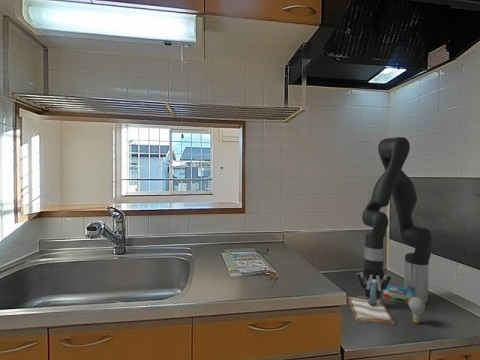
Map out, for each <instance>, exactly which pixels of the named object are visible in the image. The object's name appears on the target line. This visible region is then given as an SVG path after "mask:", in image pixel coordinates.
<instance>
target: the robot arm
mask: <svg viewBox="0 0 480 360" xmlns="http://www.w3.org/2000/svg"><path fill="white" fill-rule="evenodd" d="M377 148H378V149H377V151H378V155H379V158H380V161H381V163H382V165H383V168H384V172H383V173H382V174H381V175H380V177H379V178H378V179H377V181H376V183H375V185H374V187H373V191H372V194H371V198H370V200H369V202H368V203H367V205H366V206H365V208H364V210H363V212H362V216H361V219H362V223H363V224H364V225H366V226H368V227H371V228H372V231H370V232H366V234H365V236H364V250H363V251H364V252H363V269H362V271H360V272H356V277H357V279H358V281H359V284H360V286H361V287H362V288H364V294H365V295H364V296H365V297H367V298H369V294H370V290H369V287H370V285H371V281H372V279H376V280H377V299H378V300H380V298H381V293H382V292H381V291H383V289H384V290H385V289H386V287H387V285H389V283H390V281H391V279H392V278H391V276H390V275H388V274H385V272H384V265H385V263H384V258H385V257H384V256H385V253H384V238H385V235H386V233H387V230H388V226H389V217H388V215H387V214H386V213H385V212H383V211H380V210H381V209H382V208H386V207H387V206H389V204H390V200H391V197H392V200H393V203H394V207H395V210H396V214H397V219H398V224H399V234H400V237H401V240H402V242H403V243H404V244H405V245H408V246H410V247H415V248H414V252H407V253H406V254H405V255H404V277H403V278H404V279H403V281H404V282H403V283H404V284H403V288H406V289H412V290H414V297H418V298H420V299H422V300H423V301H424V303H425V304H427V303H428V301H429V299H428V297H429V267H430V265H429V264H430V258H431V255H432V254H431V253H432V245H433V244H432V242H433V236H432V235H433V234H432V233H431V231H430V229H428V228H427V227H421V226H416V225H415V224H414V221H413V211H414V209H415V208H416V206H417V203H418V195H417V193H416V188H415V184H414V183H413V181H412V180H411V179H410V178H409V176H408V175H407V174H406V173H405V172H404V171H403V167H404V165H405V162H406V160H407V158H408V156H409V153H410V151H411V150H410V149H411V144H410V141H409V140H408V139H407V138H406V137H403V136H401V137H400V136H398V137H397V136H396V137H389V138H383V139H382V140H380V141H379V143H378V147H377ZM364 277H365V282H364V281H363V278H364ZM382 279H383V281H382V283H381V280H382Z"/></svg>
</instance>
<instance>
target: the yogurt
mask: <svg viewBox="0 0 480 360" xmlns="http://www.w3.org/2000/svg"><path fill="white" fill-rule="evenodd" d="M382 291H383V292H382V293H383V294H382V298H383V300H388V301H393V302H399V303H403V304H406V305H407V304H408V303H409V300H410V298H412V297H414V290H412V289H406V288H404V287H399V286H395V285H389V284H388V285H387V287H386V289H385V290H384V289H383V290H382ZM408 305H409V304H408Z"/></svg>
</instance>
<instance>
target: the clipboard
mask: <svg viewBox="0 0 480 360" xmlns="http://www.w3.org/2000/svg"><path fill="white" fill-rule="evenodd" d="M347 300H348V303H349V306H350V309H351V311H352V314H353V317H354V320H355V321H357V322H365V323H374V324H382V325H393V326H396V322H395V321H394V319H393V317H392V316H391V314H390V312H389V311H388V309H387V308H386V305H385V304H384V302H383V301H382V299H377V305H375V306H374V305H370V304H368V298H367V297H366V296H365V295H364V296H362V295H357V297H355V296H347Z"/></svg>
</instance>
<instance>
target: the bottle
mask: <svg viewBox="0 0 480 360" xmlns="http://www.w3.org/2000/svg"><path fill="white" fill-rule="evenodd" d="M369 290H370V294H369V298H368V304H370V305H374V306H375V305H377V280H376V279H372V281H371V285H370V287H369Z"/></svg>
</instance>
